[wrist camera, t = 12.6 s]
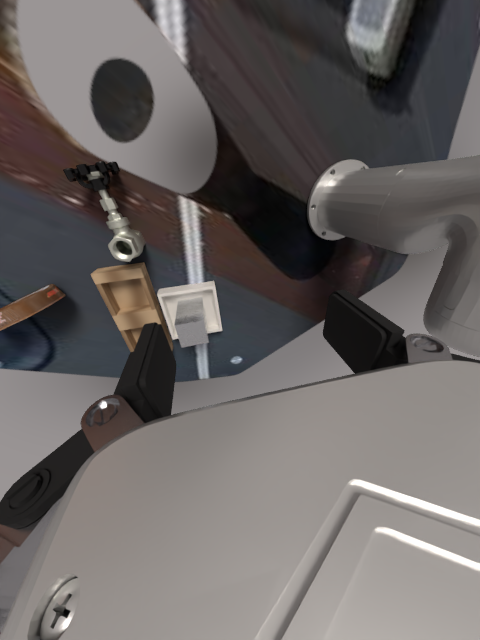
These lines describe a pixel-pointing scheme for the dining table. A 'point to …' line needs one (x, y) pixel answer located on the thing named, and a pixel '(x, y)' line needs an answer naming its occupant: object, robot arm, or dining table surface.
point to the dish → (178, 293)
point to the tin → (29, 305)
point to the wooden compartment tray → (130, 300)
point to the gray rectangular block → (191, 322)
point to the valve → (109, 208)
